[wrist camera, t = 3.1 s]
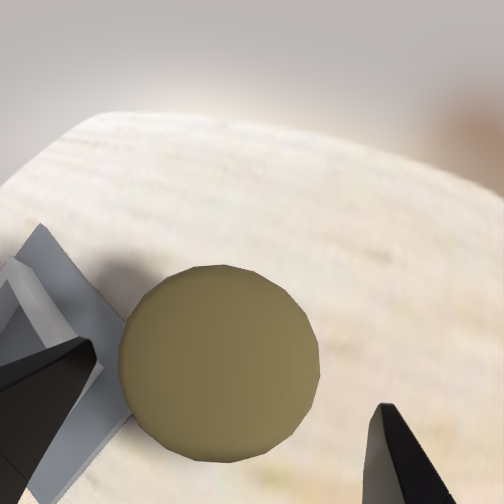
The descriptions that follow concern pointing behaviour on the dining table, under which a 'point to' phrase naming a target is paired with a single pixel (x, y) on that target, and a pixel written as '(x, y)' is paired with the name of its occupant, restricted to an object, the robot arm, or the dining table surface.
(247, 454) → the cork
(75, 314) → the socket plate
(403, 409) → the dining table surface
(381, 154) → the dining table surface
